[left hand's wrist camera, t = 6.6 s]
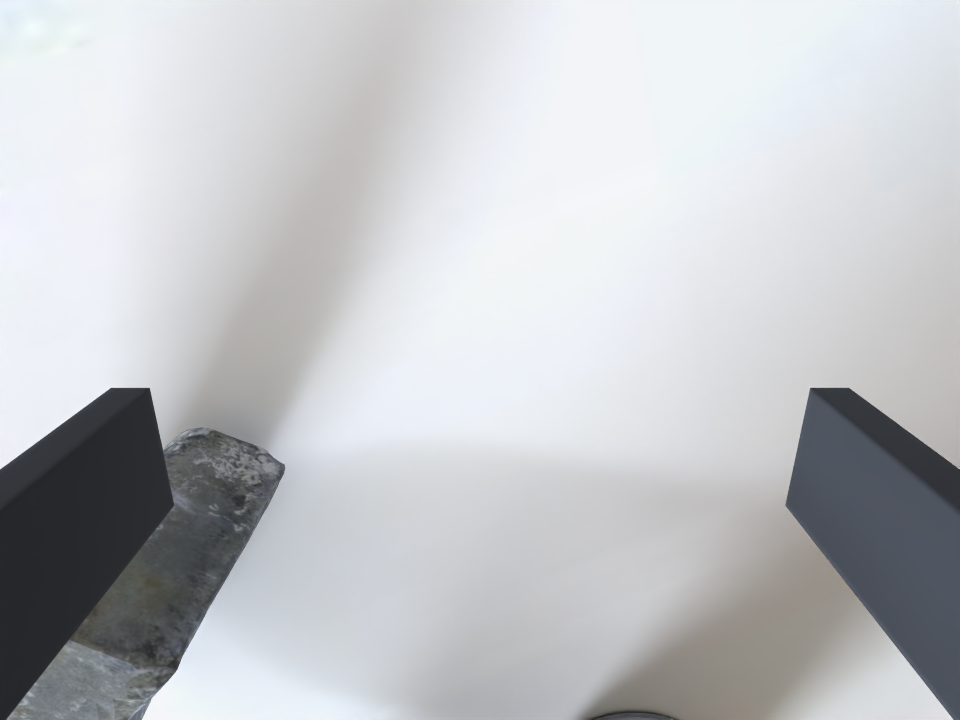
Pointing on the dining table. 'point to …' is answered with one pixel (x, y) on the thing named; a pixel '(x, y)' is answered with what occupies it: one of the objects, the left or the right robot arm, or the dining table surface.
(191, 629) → the concrete block
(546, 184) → the dining table surface
